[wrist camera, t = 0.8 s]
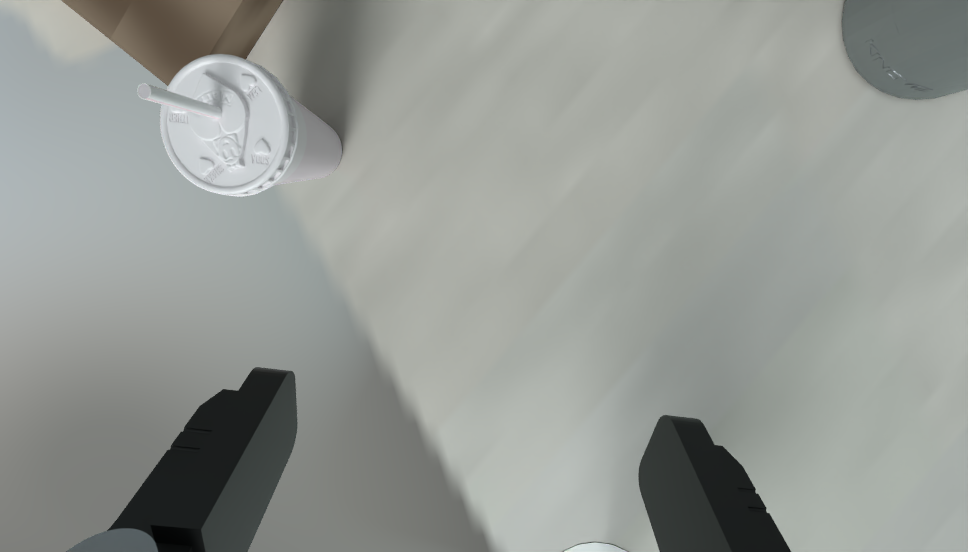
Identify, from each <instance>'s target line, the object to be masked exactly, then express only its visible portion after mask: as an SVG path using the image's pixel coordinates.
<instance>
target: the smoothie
mask: <svg viewBox="0 0 968 552" xmlns="http://www.w3.org/2000/svg"><path fill="white" fill-rule="evenodd" d="M137 93H138V95H139V97H140V98H142V99H146V100H149V101H153V102H156V103H160V104H162V105H161V111H160V128H161V135H162V140H163V143H164V146H165V149H166V151H167V153H168V155H169V157H170V159H171V161H172V162H173V164H174V165H175V166H176V168H177V169H178V170H179V171H180V172H181V174H182V175H183V176H184V177H186V178H187V179H188V180H189V181H190V182H192V183H193V184H195V185H196V186H198V187H200V188H202V189H204V190H207V191H209V192H213V193H217V194H223V195H230V196H239V197H241V196H248V195H254V194H257V193H260V192H262V191H264V190H266V189H268V188H270V187H271V186H273V185H278V184H285V183H291V182H298V181H304V180H311V179H317V178H323V177H326V176H328V175H329V174H331V173H332V172H333V171H334V170H335V169H336V168H337V166H338V165H339V163H340V160H341V156H342V145H341V141H340V138H339V136H338V135H337V133H336V132H335V130H334V129H333V128H332V127H330V126H329V125H328V124H326V123H325V122H324V121H323V120H321V119H320V118H319V117H317V116H316V115H315V114H313V113H312V112H311V111H310V110H308V109H307V108H306V107H304V106H303V105H302V104H300V103H299V102H298V101H297V100H295V99H294V98H293V97H291V96H290V95H289V94H288V91H287V90H286V89H285V88H284V86H283V85H282V84H281V83H280V81H279V80H278V79H277V78H276V77H275V76H274V75H273V74H271V73H270V72H269V71H267V70H266V69H265V68H263V67H262V66H260V65H257V64H255V63H252V62H250V61H247V60H245V59H243V58H240V57H237V56H233V55H227V54H213V55H207V56H204V57H201V58H198V59H196V60H194V61H192V62H190V63H189V64H187V65H186V66H184V67H183V68H182V69H181V70H180V71H179V72H178V73H177V74H176V75H175V76H174V78H173V79H172V81H171V82H170V84H169V86H168V88H167V90H163V89H160V88H157V87H154V86H151V85H148V84H144V83H143V84H140V85H139V86H138V89H137Z"/></svg>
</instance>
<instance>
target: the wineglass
mask: <svg viewBox="0 0 968 552" xmlns="http://www.w3.org/2000/svg"><path fill="white" fill-rule="evenodd" d="M564 552H627V551H625V550H623V549H620V548H618V547H616V546H614V545H610V544H603V543H597V542H594V543H587V544H579V545H577V546H574V547H572V548H570V549H568V550H566V551H564Z"/></svg>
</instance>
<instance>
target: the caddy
mask: <svg viewBox="0 0 968 552" xmlns="http://www.w3.org/2000/svg"><path fill="white" fill-rule="evenodd" d="M61 1H63V2H64V3H65V4H66V5H68V6H69V7H70V8H71V9H73V10H74V11H75V12H76V13H78V14H79V15H80V16H81V17H83V18H84V19H85V20H86V21H88V22H89V23H90V24H91V25H93V26H94V27H95V28H96V29H98V30H99V31H100V32H101V33H103V34H104V35H105V36H106V37H108V38H109V39H110V40H111V41H113V42H114V43H115V44H116V45H118V46H119V47H120V48H121V49H123V50H124V51H125V52H126V53H128V54H129V55H130V56H131V57H133V58H134V59H135V60H136V61H138V62H139V63H140V64H142V65H143V66H144V67H145V68H146V69H148V70H149V71H150V72H151V73H152V74H154V75H155V76H156V77H157V78H159V79H160V80H161V81H162V82H164V83H165V84H166V85H167V86H169V84H170V82H171V81H172V79H173V78H174V76H175V75H176V74H177V73H178V72H179V71H180V70H181V69H182V68H183V67H184V66H186V65H187V64H189V63H190V62H192V61H194V60H196V59H198V58H201V57H204V56H207V55H213V54H227V55H233V56H237V57H240V58H243V59H246V58H247V56H248V54H249V53H250V51H251V50H252V48H253V47H254V45H255V43H256V42H257V40H258V39H259V37H260V36H261V34H262V32H263V31H264V29H265V28H266V26H267V25H268V23H269V21H270V20H271V18H272V17H273V15H274V14H275V12H276V10H277V9H278V7H279V6H280V4H281V3H282V1H283V0H61Z"/></svg>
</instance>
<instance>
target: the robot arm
mask: <svg viewBox="0 0 968 552" xmlns="http://www.w3.org/2000/svg"><path fill="white" fill-rule="evenodd" d="M842 29H843V41H844V44H845V47H846V51H847V54H848V57H849V59H850V60H851V62H852V64H853V65H854V67H855V69H856V71H857V72H858V73H859V74H860V75H861V76H862V77H863V78H864V79H865V80H866V81H867V82H868V83H869V84H871V85H872V86H874V87H876V88H877V89H879V90H880V91H882V92H884V93H887V94H890V95H893V96H896V97H898V98H906V99H914V100H919V99H931V98H937V97H941V96H945V95H948V94H952V93H956V92H960V91H964V90H967V89H968V0H846V2H845V5H844V12H843V19H842ZM296 433H297V406H296V388H295V375H294V373H293V372H292V371H286V370H277V369H268V368H260V367H256V368H254V369H253V370H252V371H251V372H250V374H249V375H248V377H247V378H246V380H245V381H244V383H243V384H242V386H241V388H240V389H239V391H234V390H226V389H223V390H222V391H221V392H219V393H218V394H216V395H215V396H213V397H212V398H210V399H209V400H208V401H206V402H205V403H203V404H202V405H201V406H200V407H199V408H198V409H197V411H196V412H195V414H194V415H193V416H192V417H191V419H190V420H189V422H188V423H187V424H186V426H185V427H184V431H183V432H181V433H180V434H179V435H178V437H177V438H176V439H175V441H174V442H173V444H172V445H171V449H170V450H167V452H166V453H165V454H164V456H163V457H162V458H161V460H160V462H159V463H158V464H157V465H156V467H155V468H154V469H153V471H152V472H151V474H150V475H149V476H148V478H147V479H146V480H145V482H144V483H143V484H142V486H141V487H140V489H139V490H138V491H137V493H136V494H135V495H134V497H133V498H132V500H131V501H130V502H129V504H128V505H127V506H126V508H125V509H124V511H123V512H122V513H121V515H120V516H119V517H118V519H117V520H116V521H115V522H114V524H113V525H112V526H111V527H110V528H109V529H108V530H107V531H105V532H102V533H99V534H96V535H94V536H92V537H90V538H87V539H85V540H84V541H82V542H80V543H78V544H77V545H75V546H74V547H72V548H71V549H69V550H68V551H66V552H248V549H249V547H250V545H251V543H252V540H253V538H254V536H255V533H256V531H257V529H258V527H259V525H260V522H261V520H262V518H263V515H264V513H265V511H266V509H267V506H268V504H269V502H270V500H271V498H272V495H273V493H274V491H275V489H276V486H277V484H278V482H279V479H280V477H281V475H282V473H283V471H284V468H285V466H286V464H287V462H288V459H289V457H290V455H291V452H292V449H293V446H294V443H295V438H296ZM639 487H640V491H641V495H642V498H643V501H644V504H645V507H646V510H647V513H648V516H649V519H650V522H651V526H652V529H653V532H654V535H655V538H656V541H657V544H658V547H659V550H660V552H791V551H790V549H789V547H788V546H787V544H786V542H785V540H784V538H783V537H782V535H781V533H780V531H779V530H778V528H777V526H776V524H775V523H774V521H773V519H772V517H771V516H770V514H769V513H767V512H766V507H765V505H764V503H763V501H762V500H761V498H760V496H759V494H756V493H755V490H756V489H755V487H754V486H753V484H752V482H751V480H750V479H749V477H748V475H747V473H746V472H745V470H744V468H743V466H742V465H741V464H740V463H739V462H738V461H737V460H736V459H735V458H734V457H733V456H732V455H731V454H730V453H729V452H728V451H727V450H726V449H725V448H724V447H723V446H718V445H714V443H713V441H712V439H711V437H710V435H709V434H708V432H707V430H706V428H705V426H704V424H703V423H702V422H701V421H700V420H699V419H694V418H686V417H677V416H668V415H663V416H662V417H660V419H659V420H658V422H657V425H656V427H655V429H654V432H653V434H652V436H651V439H650V441H649V443H648V446H647V448H646V450H645V453H644V455H643V457H642V460H641V463H640V467H639Z"/></svg>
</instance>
